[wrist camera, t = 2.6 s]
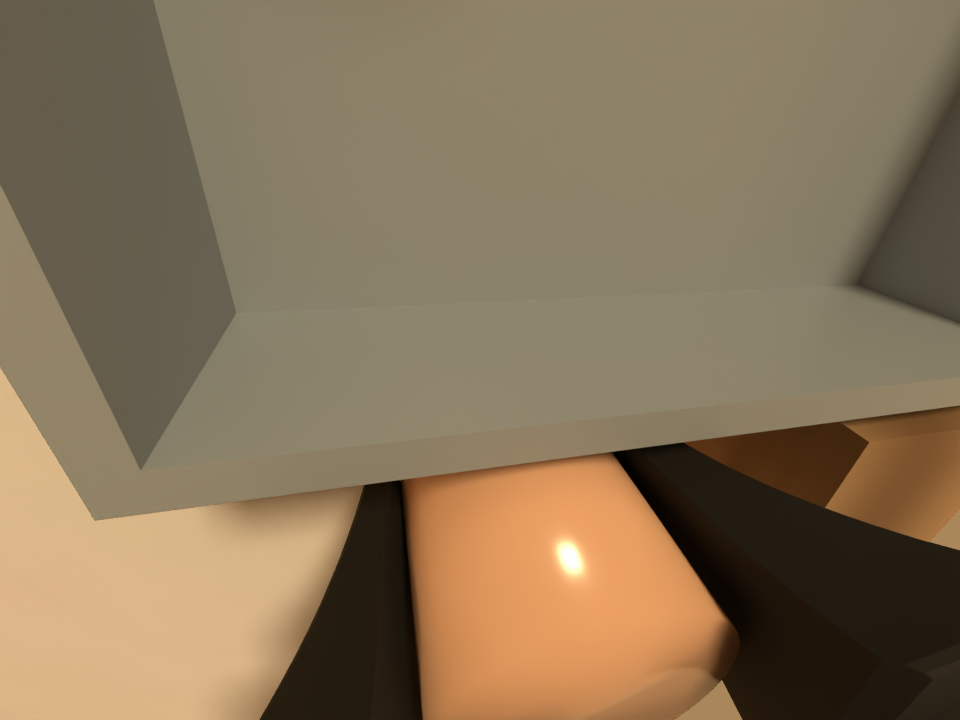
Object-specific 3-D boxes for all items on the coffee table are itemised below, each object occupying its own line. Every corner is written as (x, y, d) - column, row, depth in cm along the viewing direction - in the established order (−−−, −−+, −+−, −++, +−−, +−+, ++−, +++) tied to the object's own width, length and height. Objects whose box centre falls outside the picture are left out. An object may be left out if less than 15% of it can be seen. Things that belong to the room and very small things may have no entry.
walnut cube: (837, 319, 14) (1044, 416, 9) (774, 439, 16) (915, 556, 12) (702, 328, 13) (869, 442, 8) (658, 455, 15) (768, 590, 11)
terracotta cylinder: (577, 339, 12) (792, 580, 6) (553, 472, 14) (685, 732, 8) (390, 352, 11) (421, 664, 5) (400, 494, 13) (428, 811, 7)
